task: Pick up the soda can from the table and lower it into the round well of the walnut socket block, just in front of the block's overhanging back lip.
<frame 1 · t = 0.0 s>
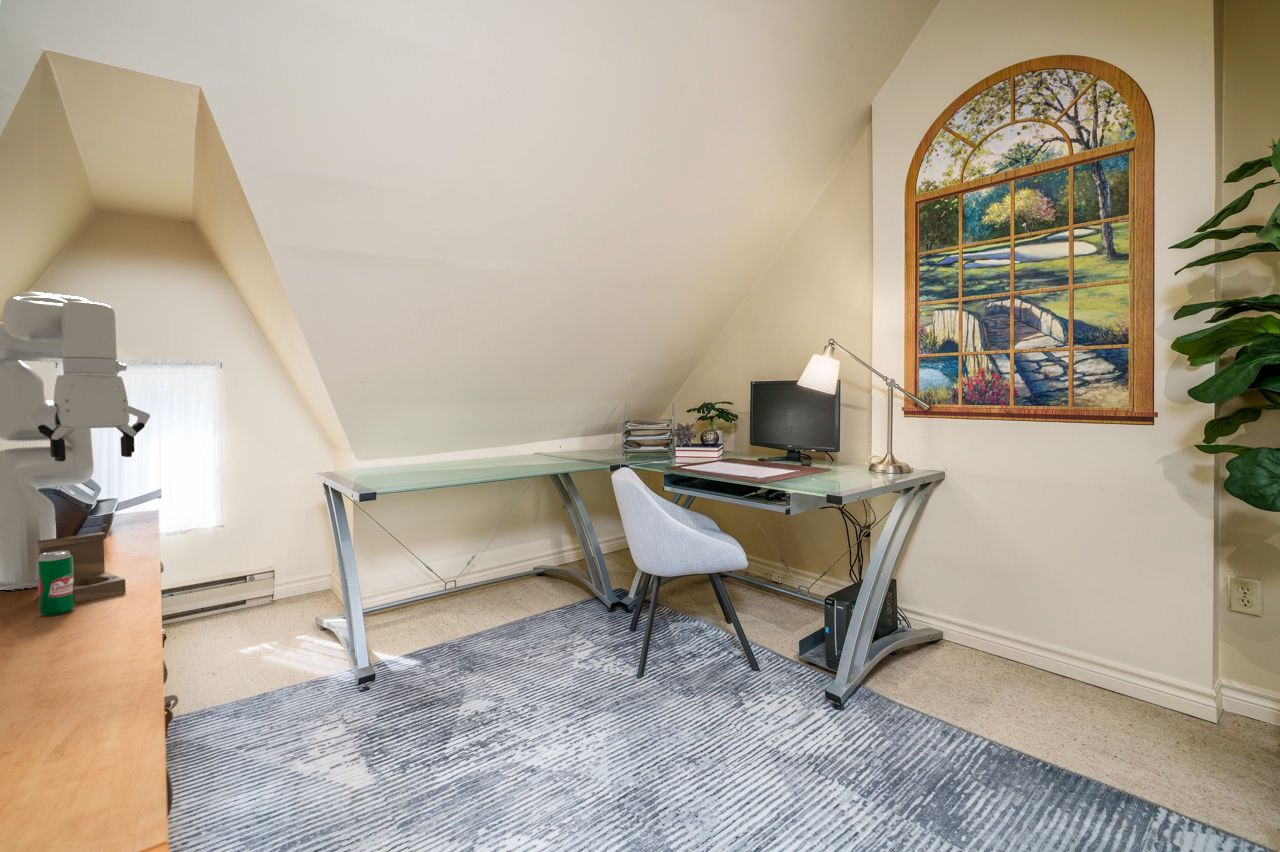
hand: (94, 458, 112), 31 cm above the table, tool pointing down, fingers open, 9 cm apart
soda can: (57, 613, 118), on the table
socket block: (83, 594, 129), on the table
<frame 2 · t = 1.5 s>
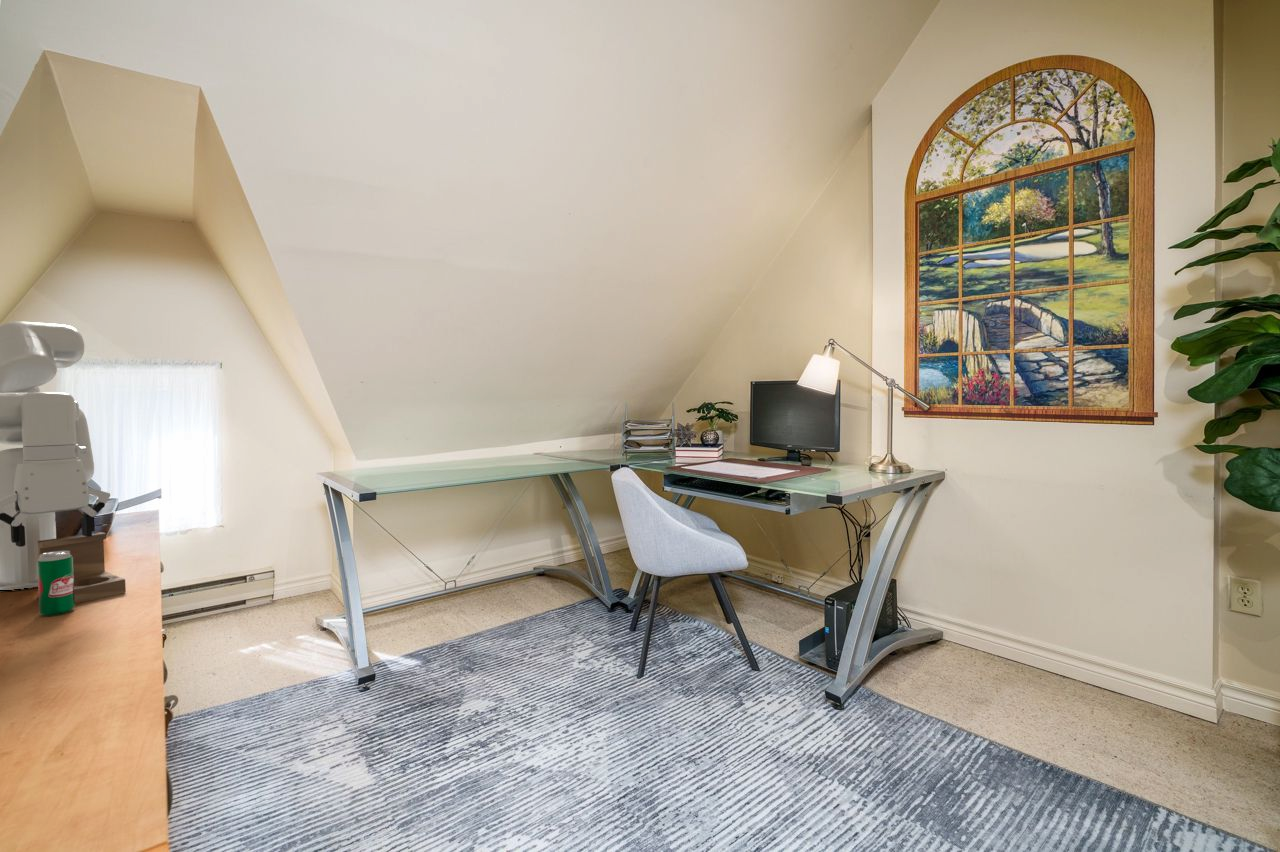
hand: (54, 540, 117), 15 cm above the table, tool pointing down, fingers open, 9 cm apart
nothing on the table moved.
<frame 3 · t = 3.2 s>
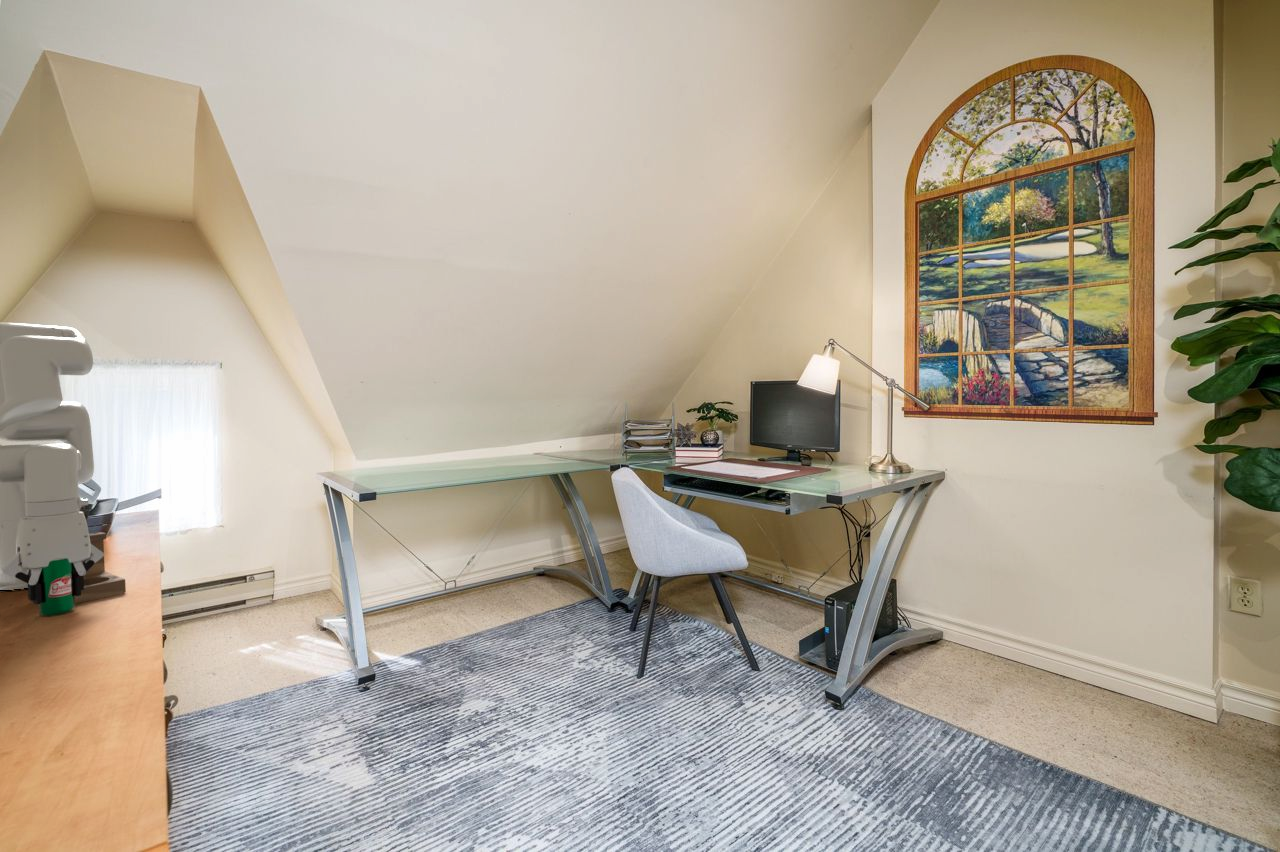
hand: (57, 598, 118), 3 cm above the table, tool pointing down, fingers closed on soda can, 5 cm apart
soda can: (57, 613, 118), on the table, touching gripper
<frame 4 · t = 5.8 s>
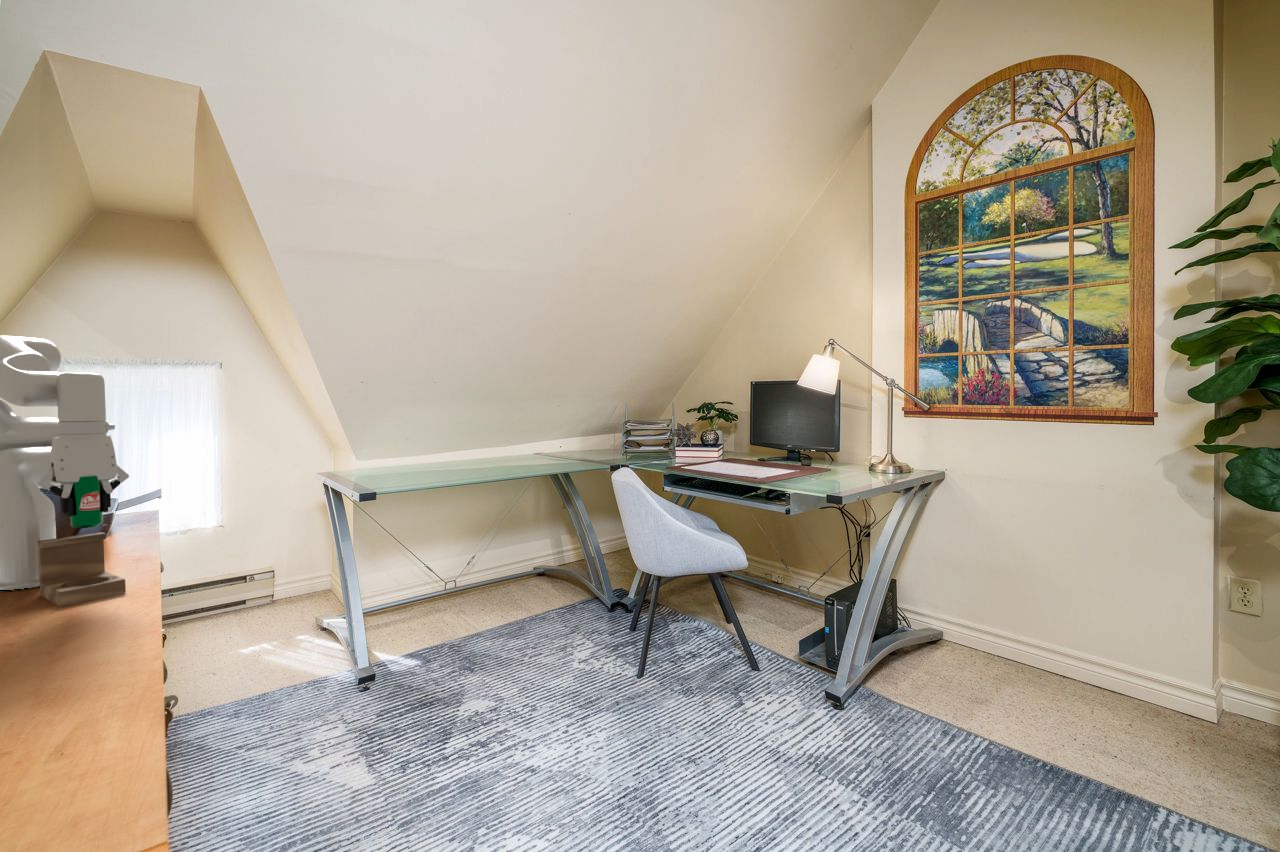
hand: (86, 512, 128), 18 cm above the table, tool pointing down, fingers closed on soda can, 5 cm apart
soda can: (87, 527, 128), point 15 cm above the table, touching gripper
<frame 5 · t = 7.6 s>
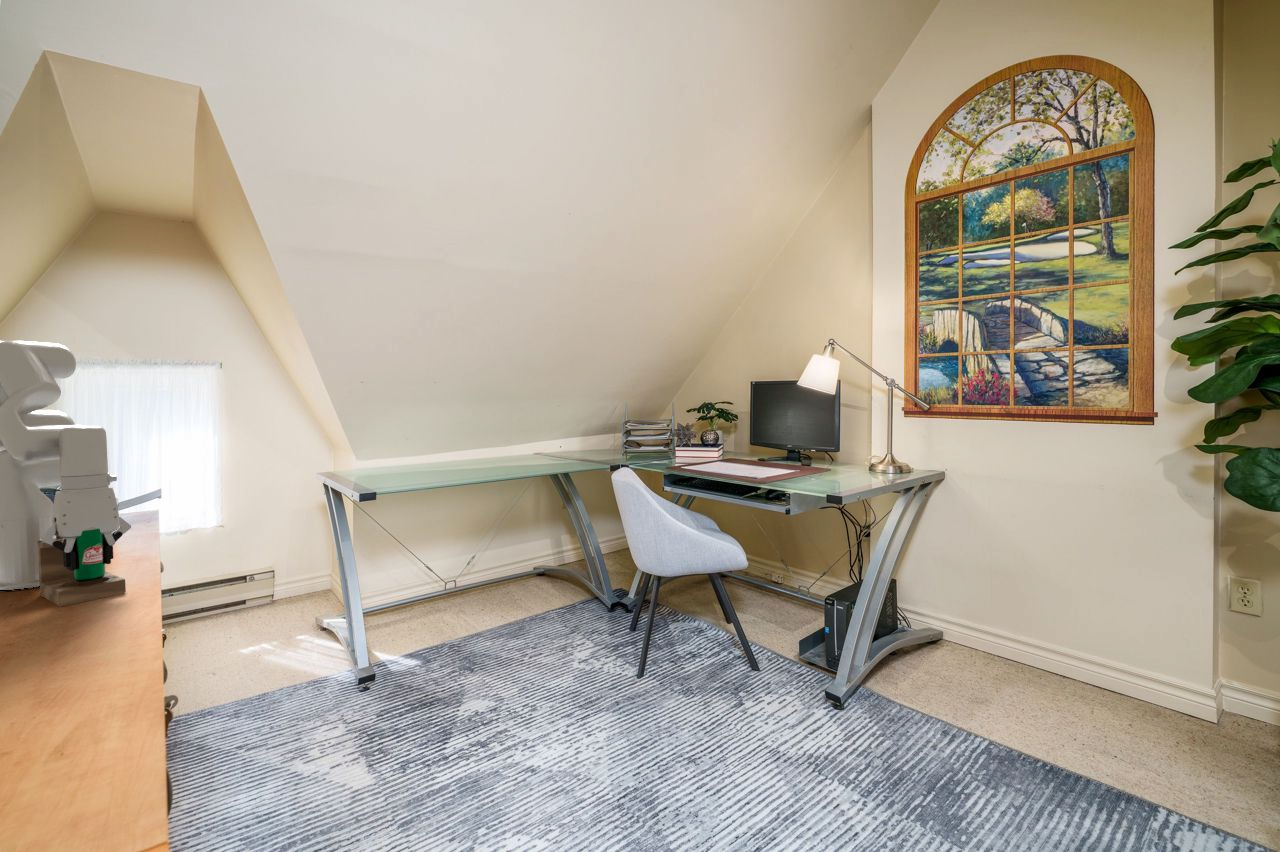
hand: (89, 565, 128), 7 cm above the table, tool pointing down, fingers closed on soda can, 5 cm apart
soda can: (90, 579, 128), point 3 cm above the table, touching gripper
when the fingers open (5 cm above the table, at t = 8.4 s): soda can drops 2 cm, resting on socket block.
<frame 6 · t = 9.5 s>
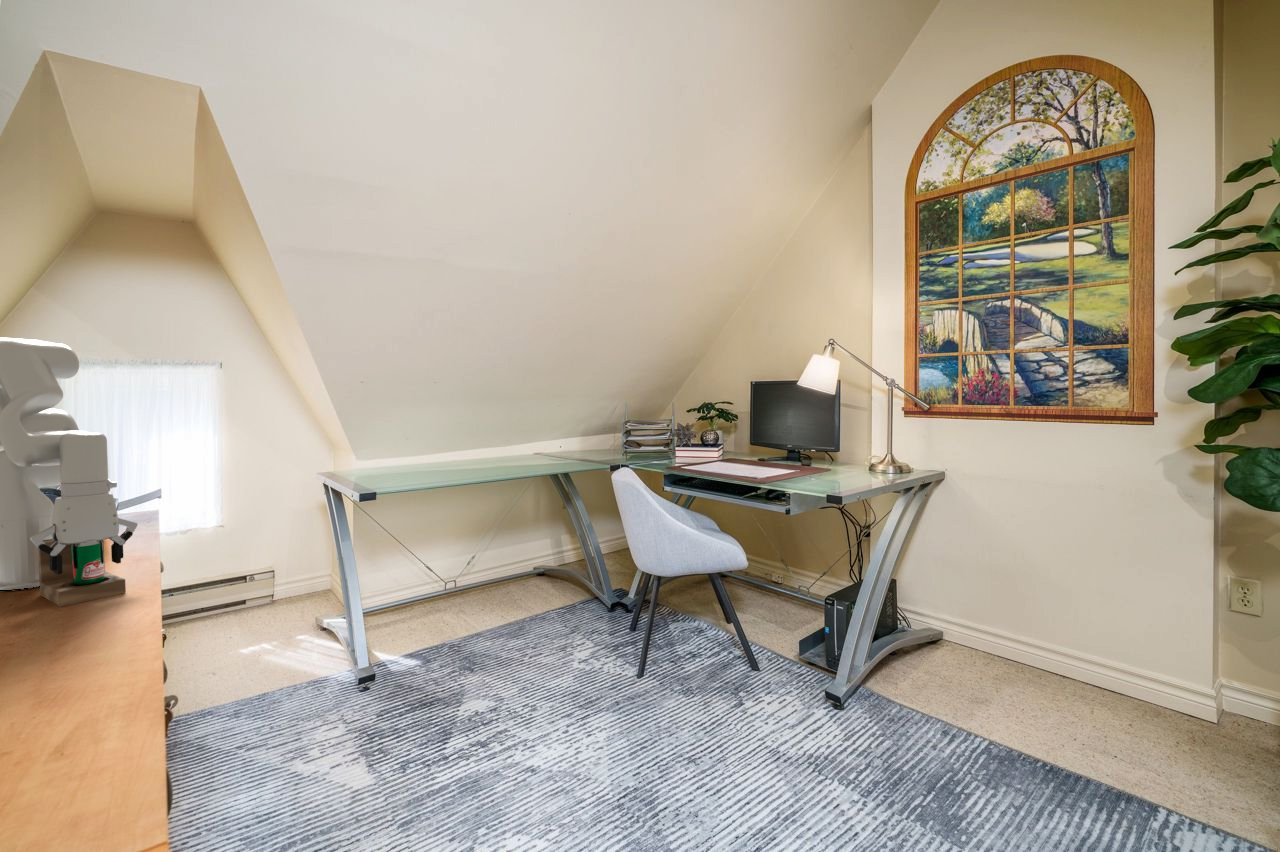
hand: (88, 567, 128), 6 cm above the table, tool pointing down, fingers open, 9 cm apart
soda can: (89, 594, 128), resting on socket block
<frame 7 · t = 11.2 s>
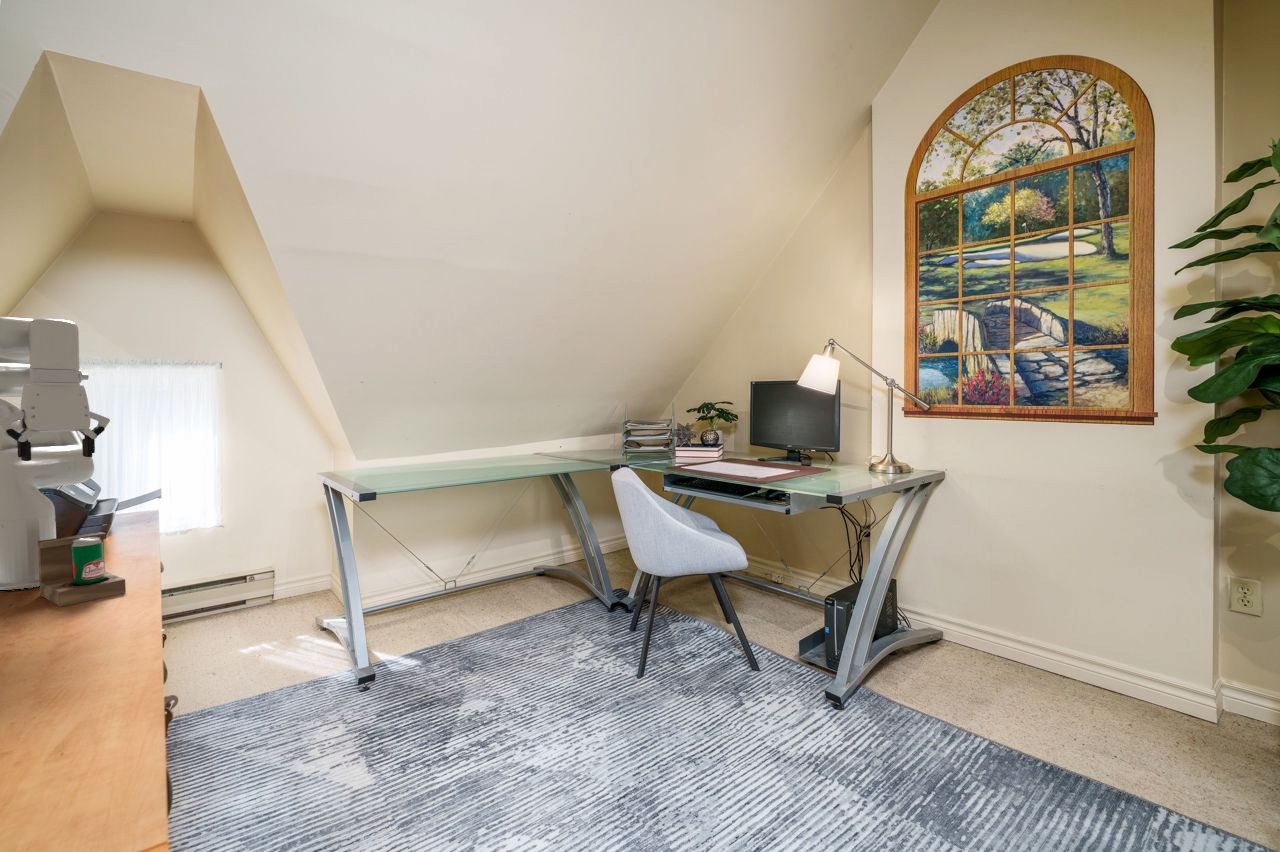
hand: (57, 458, 126), 30 cm above the table, tool pointing down, fingers open, 9 cm apart
nothing on the table moved.
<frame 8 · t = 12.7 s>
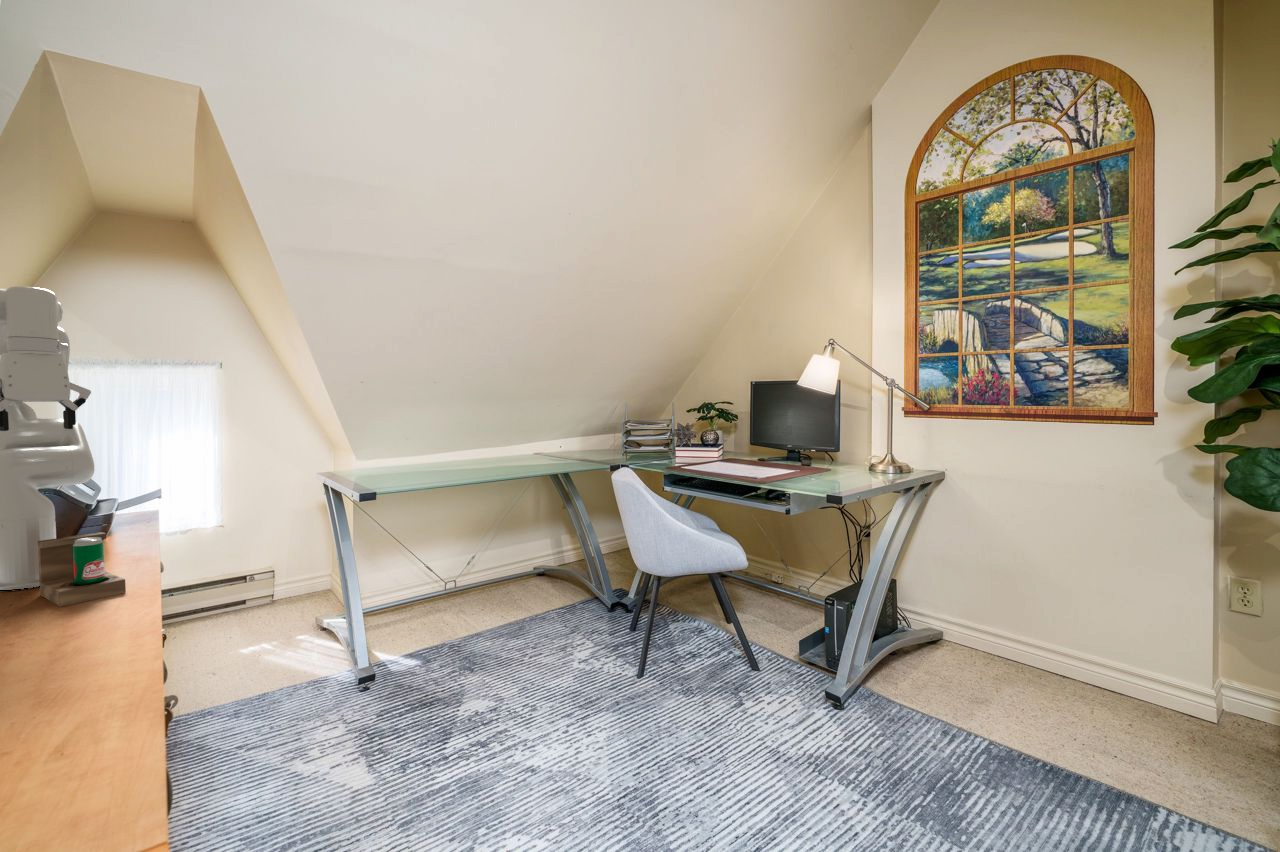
hand: (37, 429, 123), 36 cm above the table, tool pointing down, fingers open, 9 cm apart
nothing on the table moved.
at the end: soda can 0.1 cm from the target spot on the socket block, point 0.1 cm above the socket block's base; soda can tilted 1°; the gripper is holding nothing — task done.
